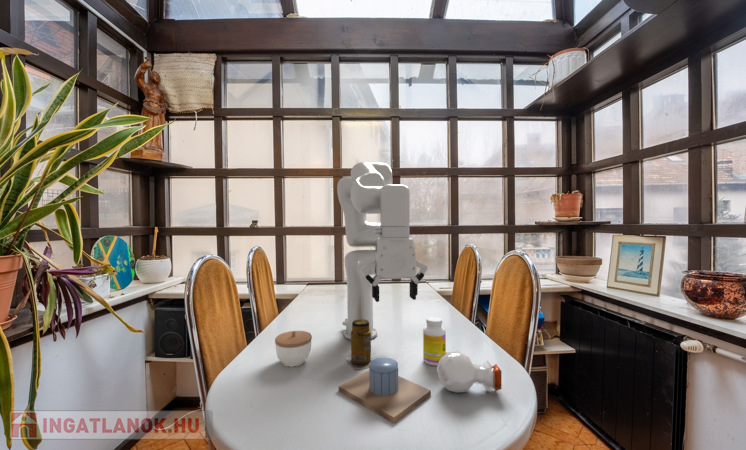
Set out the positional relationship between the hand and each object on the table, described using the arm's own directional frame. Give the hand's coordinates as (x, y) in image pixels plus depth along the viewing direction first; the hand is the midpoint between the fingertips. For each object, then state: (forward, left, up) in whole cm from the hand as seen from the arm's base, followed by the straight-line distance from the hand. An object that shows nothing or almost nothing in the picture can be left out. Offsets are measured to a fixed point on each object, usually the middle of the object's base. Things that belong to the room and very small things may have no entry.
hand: (394, 299), depth 79 cm
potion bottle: (+15, +10, -22) cm, 29 cm away
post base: (0, -5, -22) cm, 23 cm away
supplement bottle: (0, +18, -22) cm, 29 cm away
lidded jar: (-31, -11, -22) cm, 40 cm away
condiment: (-16, +3, -22) cm, 28 cm away
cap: (0, -5, -21) cm, 22 cm away
